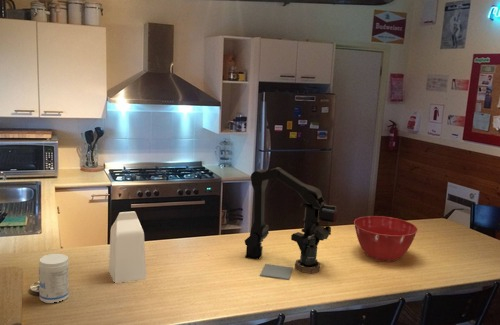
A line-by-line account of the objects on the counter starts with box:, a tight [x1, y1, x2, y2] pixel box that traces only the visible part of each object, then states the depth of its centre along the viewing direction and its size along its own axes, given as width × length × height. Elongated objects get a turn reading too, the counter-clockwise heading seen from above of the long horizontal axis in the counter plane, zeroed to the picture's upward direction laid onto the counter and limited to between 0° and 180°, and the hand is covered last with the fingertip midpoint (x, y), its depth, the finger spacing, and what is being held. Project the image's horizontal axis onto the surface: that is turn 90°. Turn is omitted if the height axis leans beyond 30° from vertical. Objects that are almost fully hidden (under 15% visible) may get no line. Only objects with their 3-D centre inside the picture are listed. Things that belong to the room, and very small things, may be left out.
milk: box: [108, 211, 147, 284], centre depth 186 cm, size 12×12×26 cm
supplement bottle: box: [299, 237, 318, 268], centre depth 203 cm, size 7×7×12 cm
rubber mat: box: [259, 263, 294, 281], centre depth 199 cm, size 12×12×1 cm
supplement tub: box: [38, 253, 70, 304], centre depth 166 cm, size 10×10×15 cm
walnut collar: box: [294, 258, 322, 275], centre depth 204 cm, size 10×10×3 cm
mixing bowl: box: [353, 215, 419, 263], centre depth 222 cm, size 28×28×15 cm
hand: (308, 253), depth 203 cm, fingers closed on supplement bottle, 7 cm apart
